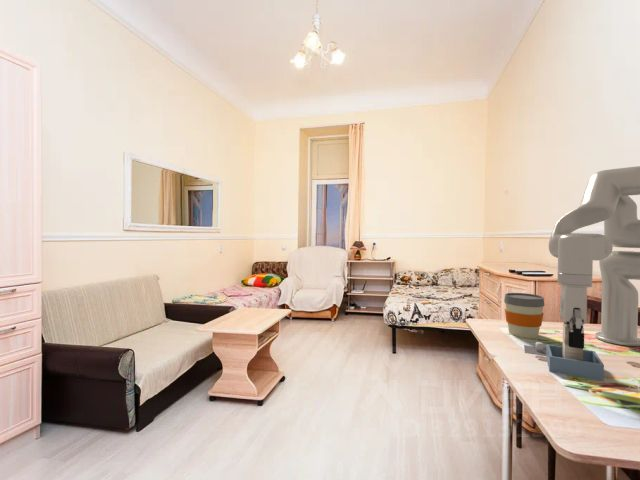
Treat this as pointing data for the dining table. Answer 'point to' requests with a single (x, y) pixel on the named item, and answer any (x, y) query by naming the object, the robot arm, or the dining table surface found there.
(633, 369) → the dining table surface
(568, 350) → the strut
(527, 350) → the stud plate
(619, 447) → the dining table surface
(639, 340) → the robot arm
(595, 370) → the bin
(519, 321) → the reusable coffee cup
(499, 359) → the dining table surface
